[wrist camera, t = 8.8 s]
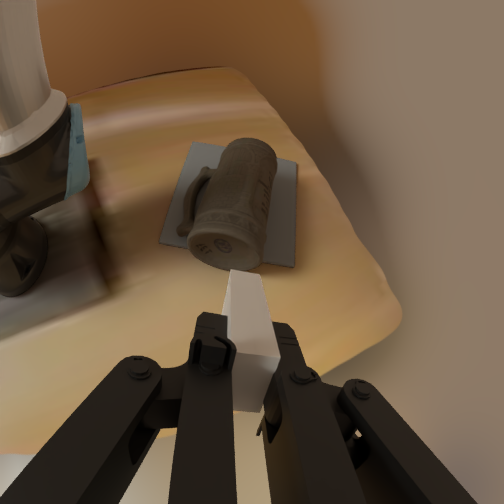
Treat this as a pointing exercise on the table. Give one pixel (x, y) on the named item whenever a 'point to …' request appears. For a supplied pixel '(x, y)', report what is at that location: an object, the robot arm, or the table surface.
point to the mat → (280, 212)
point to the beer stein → (231, 207)
